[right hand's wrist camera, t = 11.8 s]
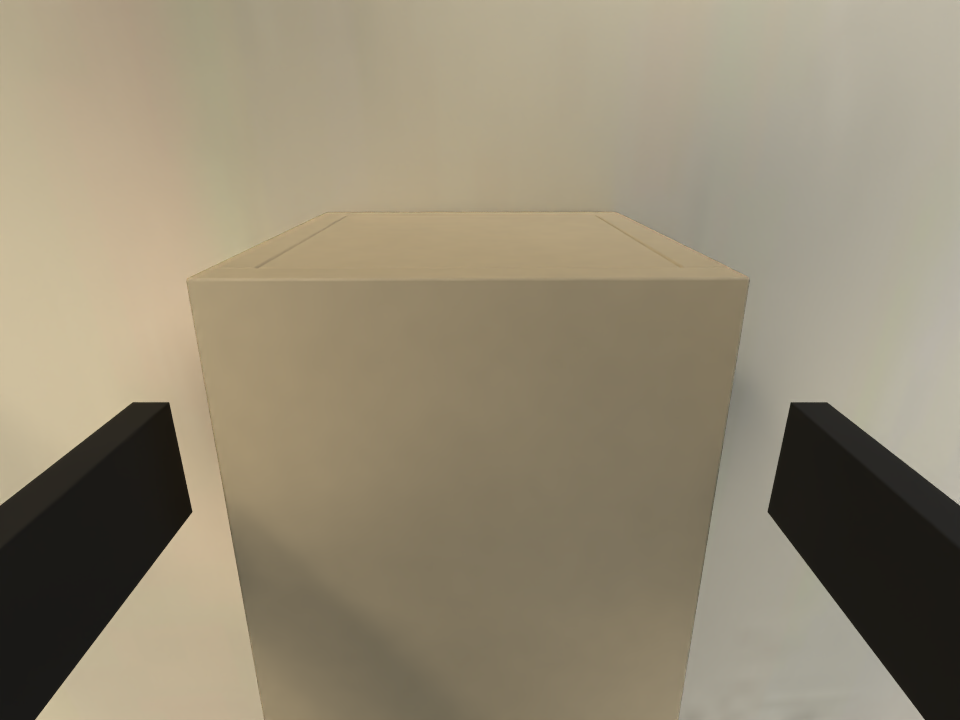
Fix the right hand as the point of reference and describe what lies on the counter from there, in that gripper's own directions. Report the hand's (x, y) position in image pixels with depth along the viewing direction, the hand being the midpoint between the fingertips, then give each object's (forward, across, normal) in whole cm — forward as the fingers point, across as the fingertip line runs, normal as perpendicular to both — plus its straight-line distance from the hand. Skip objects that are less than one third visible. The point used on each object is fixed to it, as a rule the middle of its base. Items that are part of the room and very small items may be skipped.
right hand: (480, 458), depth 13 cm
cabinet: (+10, 0, -4) cm, 10 cm away
